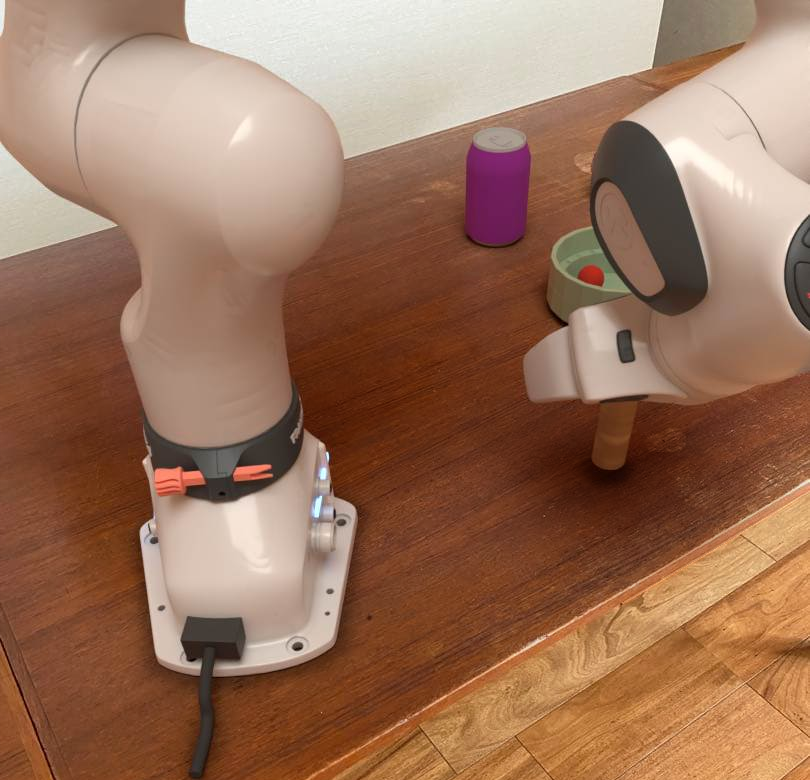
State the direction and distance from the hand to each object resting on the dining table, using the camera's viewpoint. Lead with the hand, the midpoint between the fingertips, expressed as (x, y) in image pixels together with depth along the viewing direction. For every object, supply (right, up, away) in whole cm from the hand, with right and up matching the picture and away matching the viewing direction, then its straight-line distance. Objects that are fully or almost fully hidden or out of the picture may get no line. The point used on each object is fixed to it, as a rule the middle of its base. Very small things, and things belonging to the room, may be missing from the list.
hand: (620, 373), depth 73 cm
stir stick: (0, -7, +6) cm, 9 cm away
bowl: (+5, +13, +25) cm, 28 cm away
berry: (+3, +15, +25) cm, 29 cm away
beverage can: (-7, +25, +37) cm, 45 cm away
